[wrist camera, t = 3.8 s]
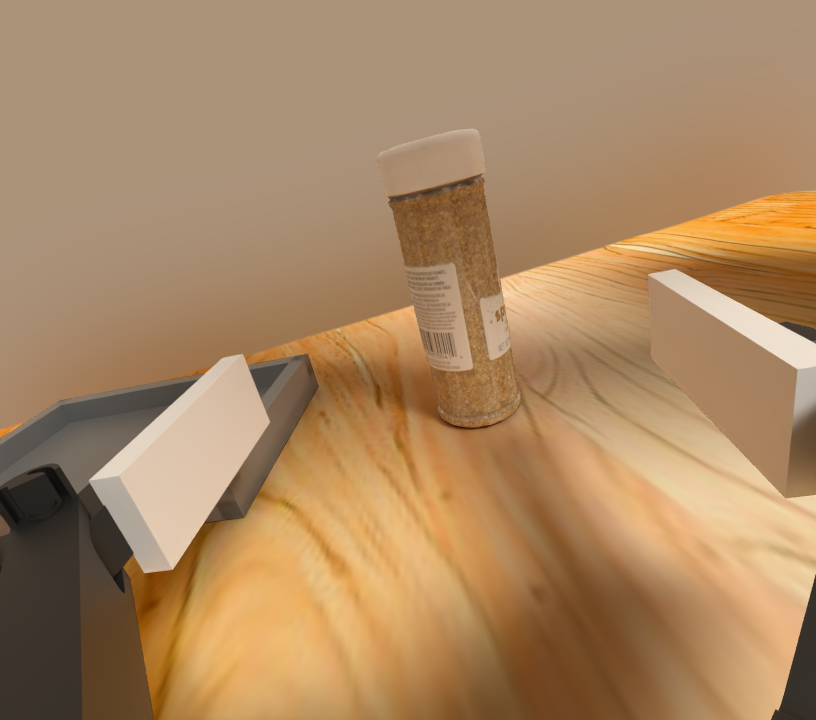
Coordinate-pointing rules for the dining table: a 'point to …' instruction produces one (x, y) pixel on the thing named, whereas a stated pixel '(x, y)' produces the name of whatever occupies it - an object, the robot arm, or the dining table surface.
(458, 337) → the sprinkles bottle
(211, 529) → the dining table surface
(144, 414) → the tray
